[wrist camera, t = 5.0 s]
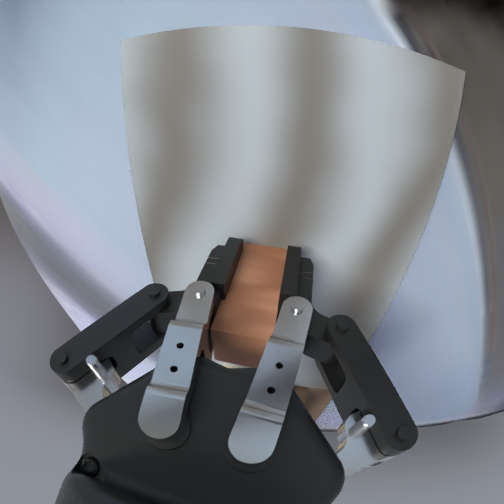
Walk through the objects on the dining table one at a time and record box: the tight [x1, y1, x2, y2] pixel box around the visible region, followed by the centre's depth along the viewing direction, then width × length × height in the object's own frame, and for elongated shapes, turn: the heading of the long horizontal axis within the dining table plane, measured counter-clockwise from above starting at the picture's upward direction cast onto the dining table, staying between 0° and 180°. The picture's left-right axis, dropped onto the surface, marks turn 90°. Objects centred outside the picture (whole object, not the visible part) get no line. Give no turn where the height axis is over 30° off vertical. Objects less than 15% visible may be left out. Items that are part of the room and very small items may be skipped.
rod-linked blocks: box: [210, 243, 287, 368], centre depth 20 cm, size 6×20×6 cm, turn 178°
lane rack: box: [121, 25, 465, 421], centre depth 20 cm, size 16×39×3 cm, turn 178°
